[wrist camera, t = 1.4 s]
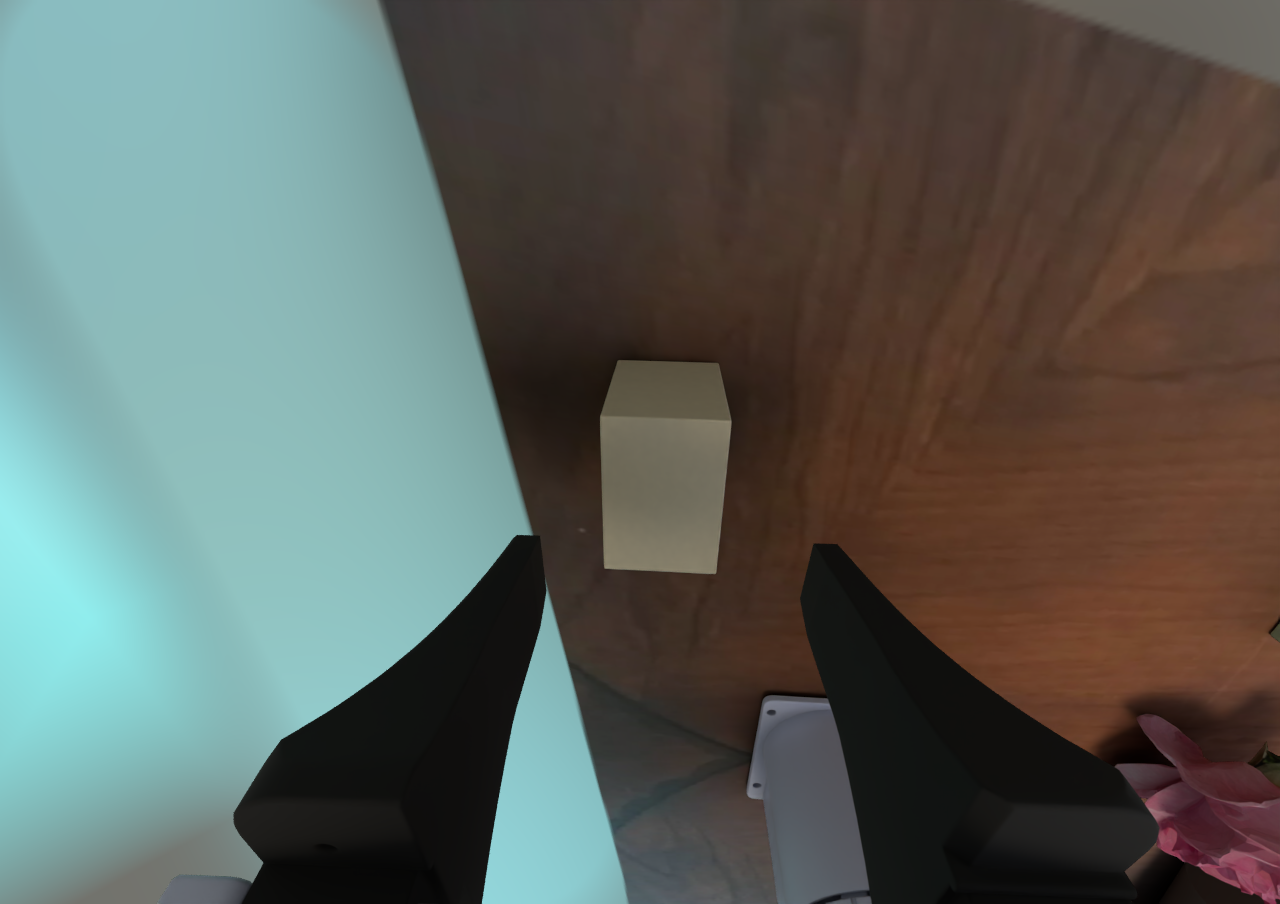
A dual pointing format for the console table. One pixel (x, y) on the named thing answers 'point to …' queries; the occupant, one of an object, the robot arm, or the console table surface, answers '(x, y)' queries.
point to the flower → (1213, 809)
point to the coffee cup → (1205, 889)
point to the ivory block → (664, 466)
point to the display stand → (1276, 633)
